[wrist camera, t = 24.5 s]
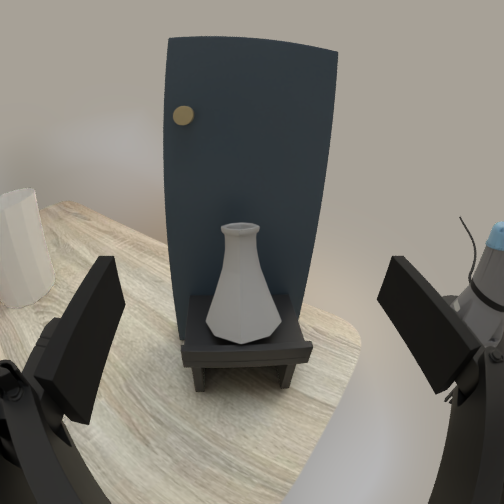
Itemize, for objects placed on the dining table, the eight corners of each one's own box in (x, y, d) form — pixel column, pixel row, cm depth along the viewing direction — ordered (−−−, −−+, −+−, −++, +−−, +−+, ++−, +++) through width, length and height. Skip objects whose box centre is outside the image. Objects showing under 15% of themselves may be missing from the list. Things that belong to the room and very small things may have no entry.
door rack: (311, 395, 29) (395, 32, 11) (174, 401, 27) (139, 1, 9) (289, 321, 40) (325, 57, 23) (181, 322, 38) (174, 45, 21)
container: (46, 260, 49) (29, 184, 40) (64, 287, 42) (41, 195, 33) (-3, 284, 38) (-28, 207, 29) (5, 319, 31) (-31, 225, 23)
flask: (240, 355, 22) (235, 240, 19) (193, 323, 27) (183, 227, 24) (294, 323, 27) (298, 225, 24) (245, 301, 32) (243, 216, 29)
